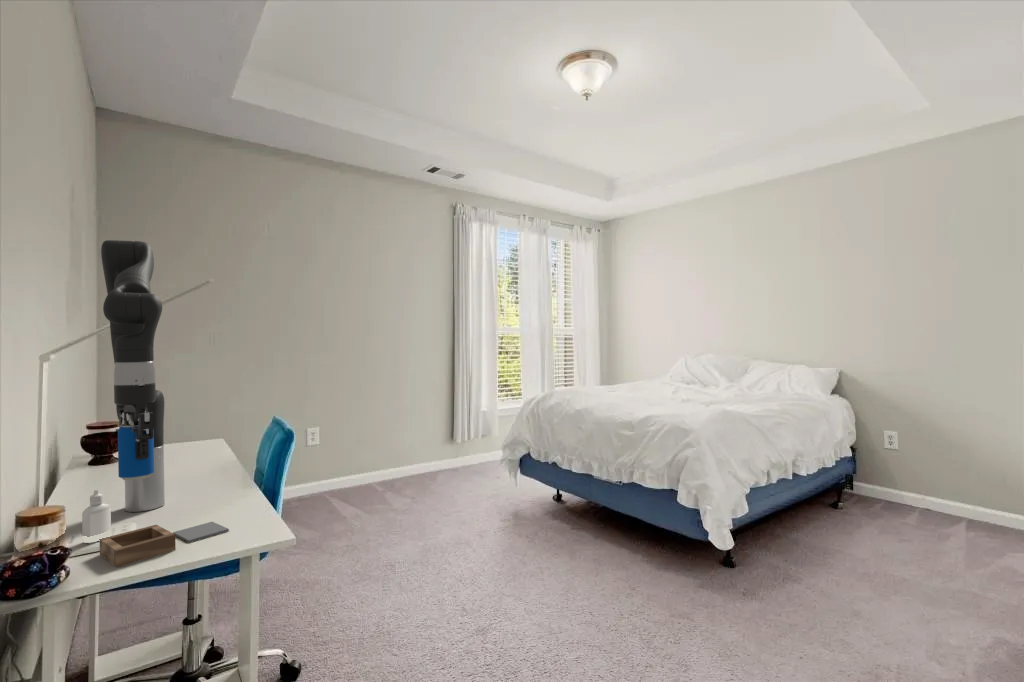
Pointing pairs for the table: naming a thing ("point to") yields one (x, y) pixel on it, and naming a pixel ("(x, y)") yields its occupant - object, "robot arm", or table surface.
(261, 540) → the table surface
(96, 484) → the table surface
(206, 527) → the rubber mat
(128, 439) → the beverage can
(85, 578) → the table surface
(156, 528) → the walnut collar
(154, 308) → the robot arm
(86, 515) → the eye dropper bottle
